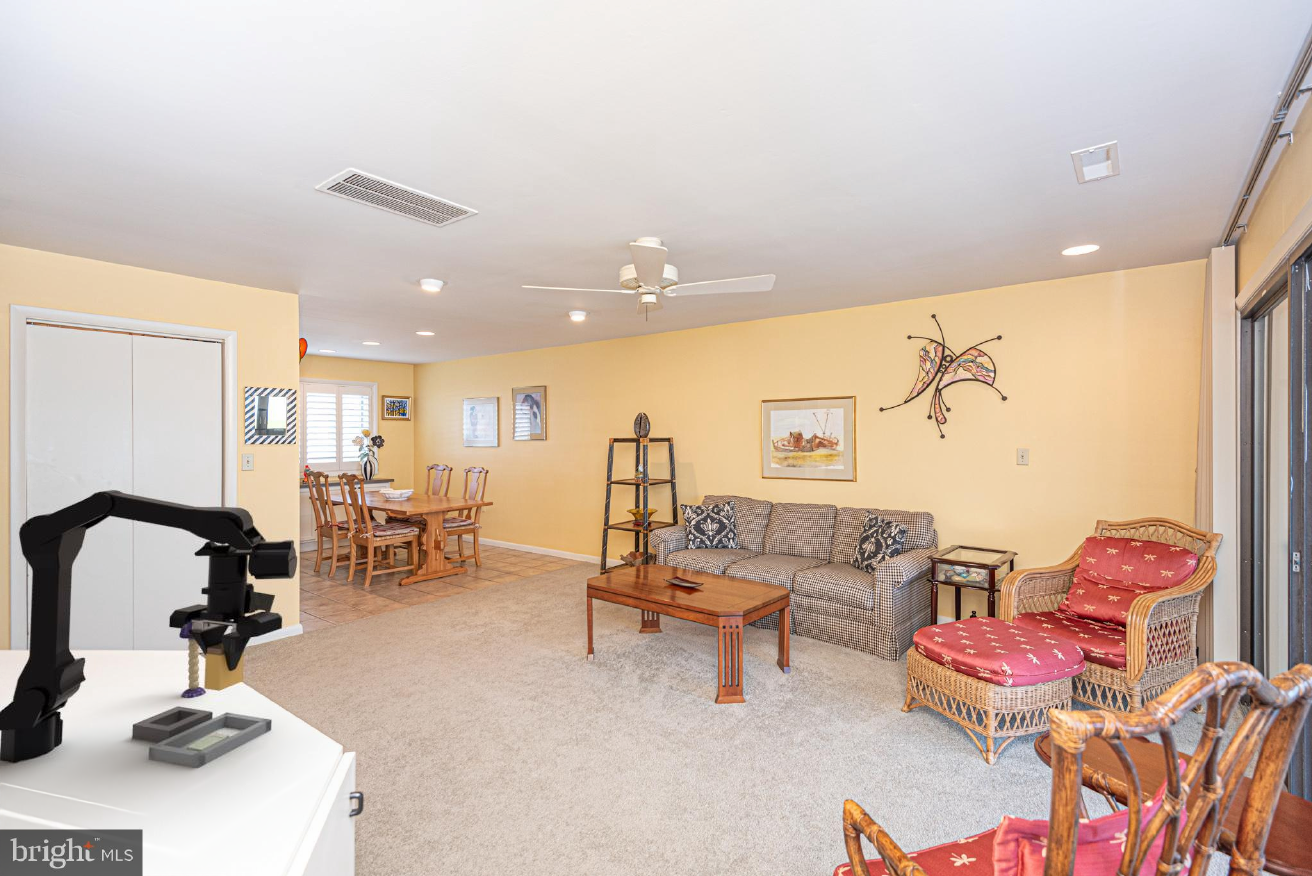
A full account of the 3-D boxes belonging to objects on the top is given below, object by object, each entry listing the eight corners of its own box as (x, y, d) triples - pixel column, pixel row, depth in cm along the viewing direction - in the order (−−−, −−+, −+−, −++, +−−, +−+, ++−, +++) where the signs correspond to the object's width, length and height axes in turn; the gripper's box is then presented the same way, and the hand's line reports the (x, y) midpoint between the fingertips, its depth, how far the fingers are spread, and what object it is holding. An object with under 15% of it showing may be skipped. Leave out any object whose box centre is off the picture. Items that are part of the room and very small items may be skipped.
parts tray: (197, 772, 99) (198, 756, 100) (148, 762, 102) (149, 747, 102) (271, 733, 113) (271, 719, 113) (225, 726, 115) (226, 712, 115)
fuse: (201, 762, 102) (201, 749, 102) (186, 759, 102) (186, 746, 102) (229, 747, 107) (229, 735, 107) (214, 745, 107) (215, 732, 107)
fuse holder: (168, 748, 107) (169, 730, 107) (132, 741, 108) (132, 724, 108) (211, 728, 114) (212, 711, 114) (177, 722, 116) (177, 706, 116)
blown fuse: (219, 690, 108) (221, 649, 108) (204, 688, 108) (205, 648, 109) (242, 681, 112) (244, 642, 112) (228, 679, 113) (229, 640, 113)
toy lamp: (181, 704, 124) (184, 619, 124) (173, 697, 127) (176, 615, 127) (209, 697, 128) (212, 615, 128) (201, 691, 131) (204, 610, 131)
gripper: (307, 575, 116) (304, 660, 116) (225, 567, 121) (222, 649, 120) (256, 588, 105) (252, 681, 105) (168, 579, 110) (164, 669, 109)
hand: (224, 669), depth 110 cm, fingers closed on blown fuse, 3 cm apart
